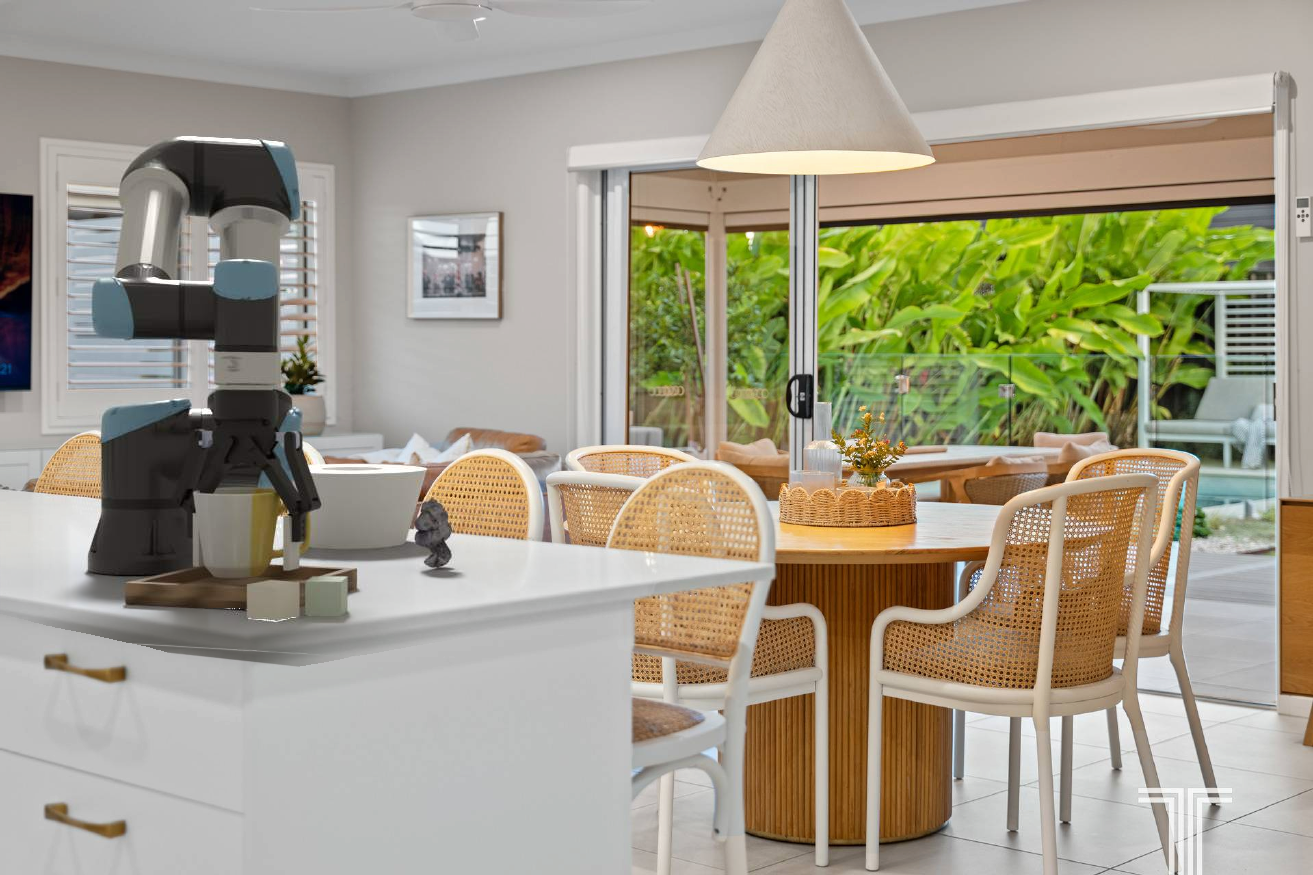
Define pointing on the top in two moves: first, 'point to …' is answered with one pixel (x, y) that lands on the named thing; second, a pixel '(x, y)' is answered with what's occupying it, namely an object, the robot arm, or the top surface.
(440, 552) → the grey stone bust
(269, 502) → the mug
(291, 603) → the cream block
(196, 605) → the tray
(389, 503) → the bowl
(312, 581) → the sage block
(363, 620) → the top surface
